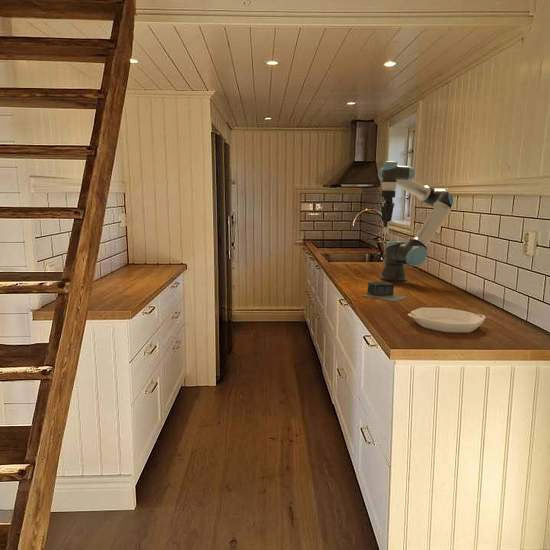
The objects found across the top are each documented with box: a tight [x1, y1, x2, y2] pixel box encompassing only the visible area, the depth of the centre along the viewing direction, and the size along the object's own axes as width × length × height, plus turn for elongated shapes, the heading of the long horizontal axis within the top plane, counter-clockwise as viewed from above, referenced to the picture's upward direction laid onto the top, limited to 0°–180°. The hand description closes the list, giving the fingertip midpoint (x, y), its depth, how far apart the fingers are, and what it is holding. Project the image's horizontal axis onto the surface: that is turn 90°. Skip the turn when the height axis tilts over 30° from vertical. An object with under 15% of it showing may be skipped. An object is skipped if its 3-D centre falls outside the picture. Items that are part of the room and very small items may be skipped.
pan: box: [407, 307, 487, 334], centre depth 189 cm, size 31×26×4 cm
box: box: [367, 281, 395, 296], centre depth 244 cm, size 8×6×11 cm
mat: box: [362, 293, 408, 303], centre depth 239 cm, size 14×18×1 cm
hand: (385, 233), depth 268 cm, fingers closed
